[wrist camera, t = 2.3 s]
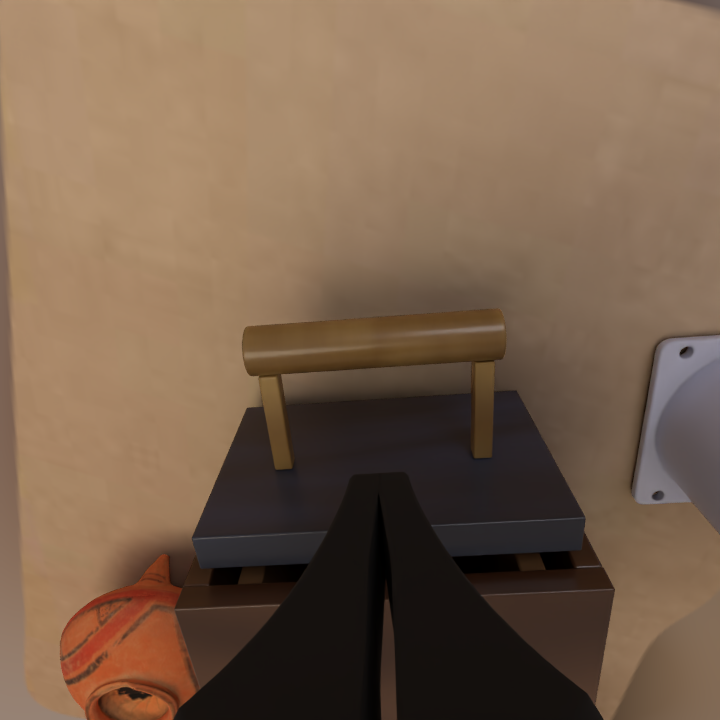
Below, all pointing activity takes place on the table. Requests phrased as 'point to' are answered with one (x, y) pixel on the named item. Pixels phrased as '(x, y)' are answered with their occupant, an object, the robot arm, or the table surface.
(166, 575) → the pot
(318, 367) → the drawer
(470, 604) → the robot arm
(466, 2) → the table surface
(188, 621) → the cabinet
